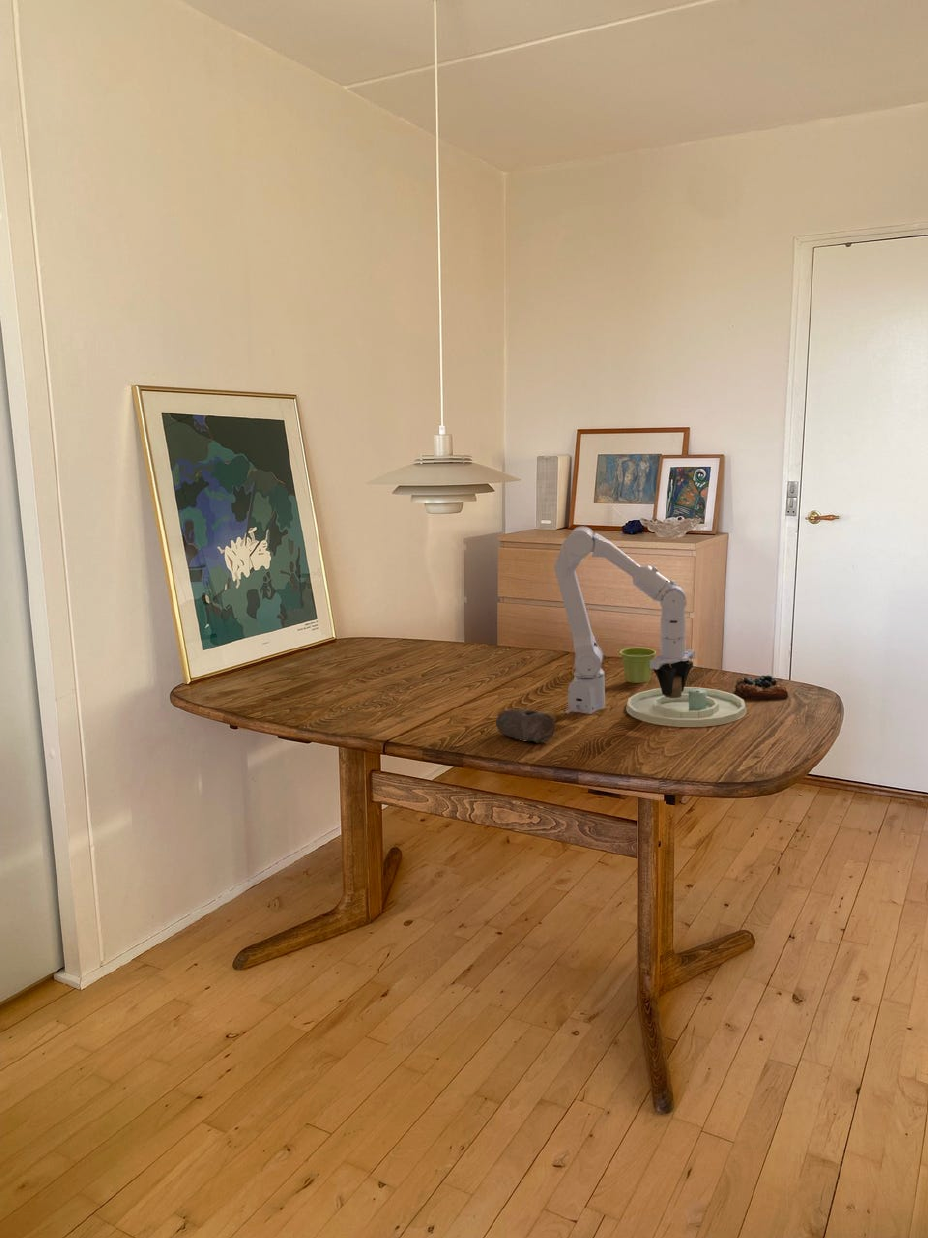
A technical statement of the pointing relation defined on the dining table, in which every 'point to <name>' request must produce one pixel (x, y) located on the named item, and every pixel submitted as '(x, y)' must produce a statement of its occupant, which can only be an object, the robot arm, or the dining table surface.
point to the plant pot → (637, 664)
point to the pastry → (760, 688)
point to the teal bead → (697, 699)
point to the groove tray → (685, 708)
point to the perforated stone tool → (526, 725)
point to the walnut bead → (676, 687)
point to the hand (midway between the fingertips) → (672, 693)
